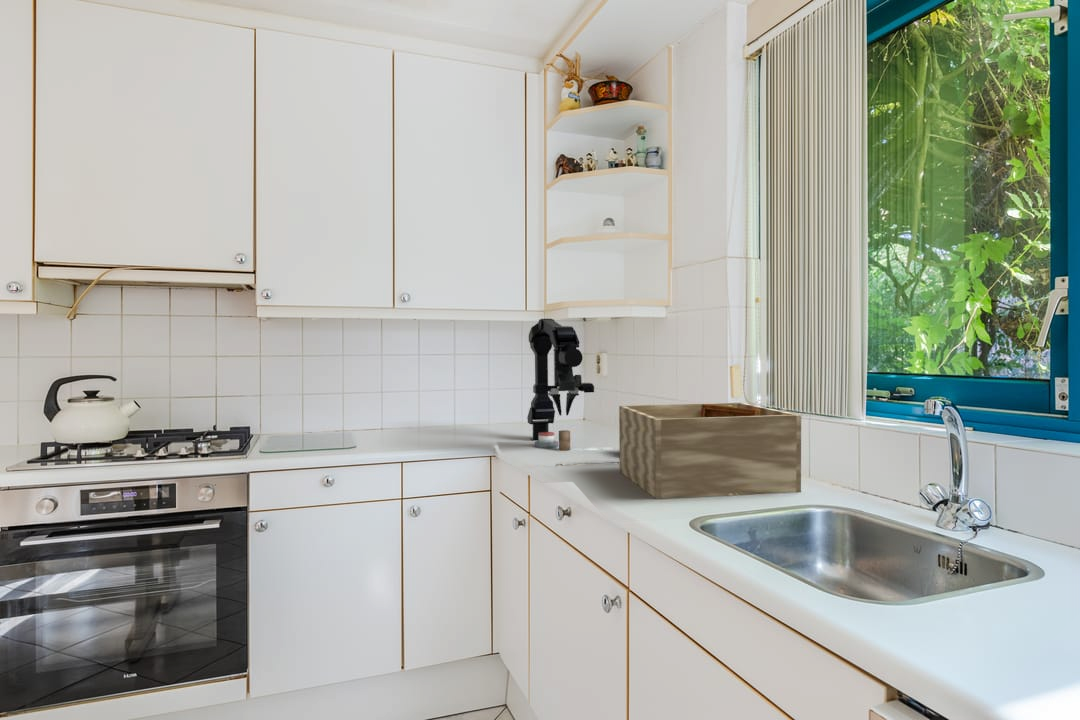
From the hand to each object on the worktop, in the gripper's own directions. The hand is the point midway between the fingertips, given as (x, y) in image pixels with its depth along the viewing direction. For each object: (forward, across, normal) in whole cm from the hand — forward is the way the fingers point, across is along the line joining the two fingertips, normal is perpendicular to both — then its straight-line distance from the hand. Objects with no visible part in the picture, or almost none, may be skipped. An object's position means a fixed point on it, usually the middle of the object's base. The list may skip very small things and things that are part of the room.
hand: (563, 415), depth 192 cm
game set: (+13, +28, -42) cm, 53 cm away
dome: (+10, -4, +8) cm, 13 cm away
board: (+12, +4, +4) cm, 13 cm away
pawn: (+11, 0, 0) cm, 11 cm away
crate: (+13, +28, -43) cm, 53 cm away
